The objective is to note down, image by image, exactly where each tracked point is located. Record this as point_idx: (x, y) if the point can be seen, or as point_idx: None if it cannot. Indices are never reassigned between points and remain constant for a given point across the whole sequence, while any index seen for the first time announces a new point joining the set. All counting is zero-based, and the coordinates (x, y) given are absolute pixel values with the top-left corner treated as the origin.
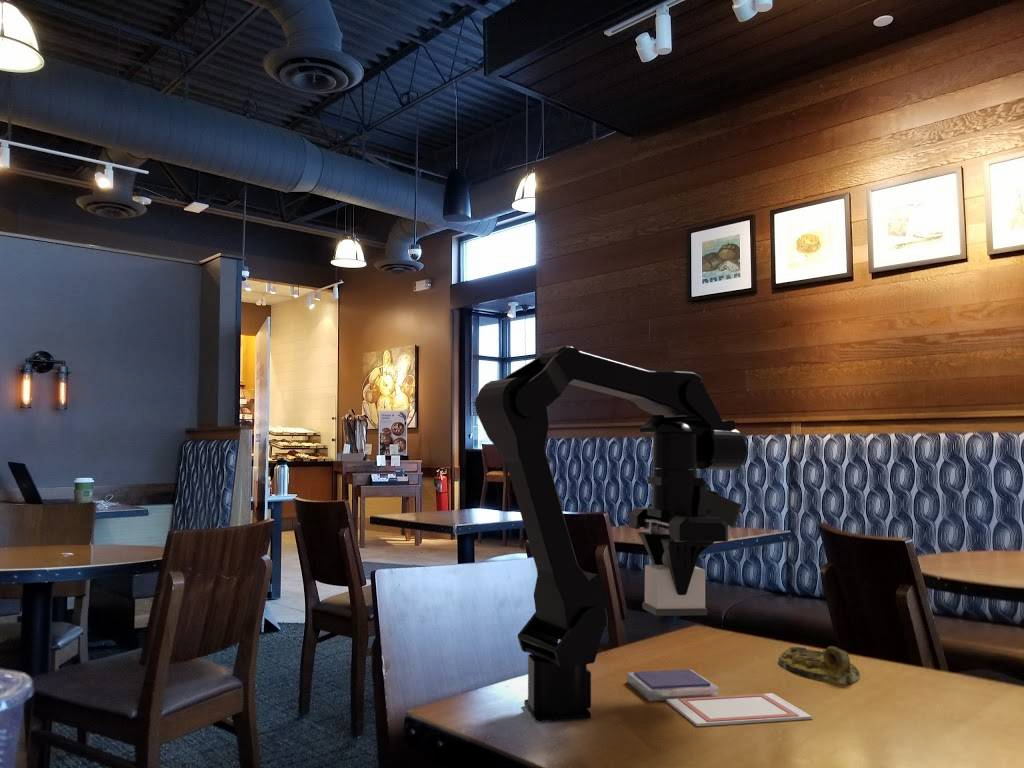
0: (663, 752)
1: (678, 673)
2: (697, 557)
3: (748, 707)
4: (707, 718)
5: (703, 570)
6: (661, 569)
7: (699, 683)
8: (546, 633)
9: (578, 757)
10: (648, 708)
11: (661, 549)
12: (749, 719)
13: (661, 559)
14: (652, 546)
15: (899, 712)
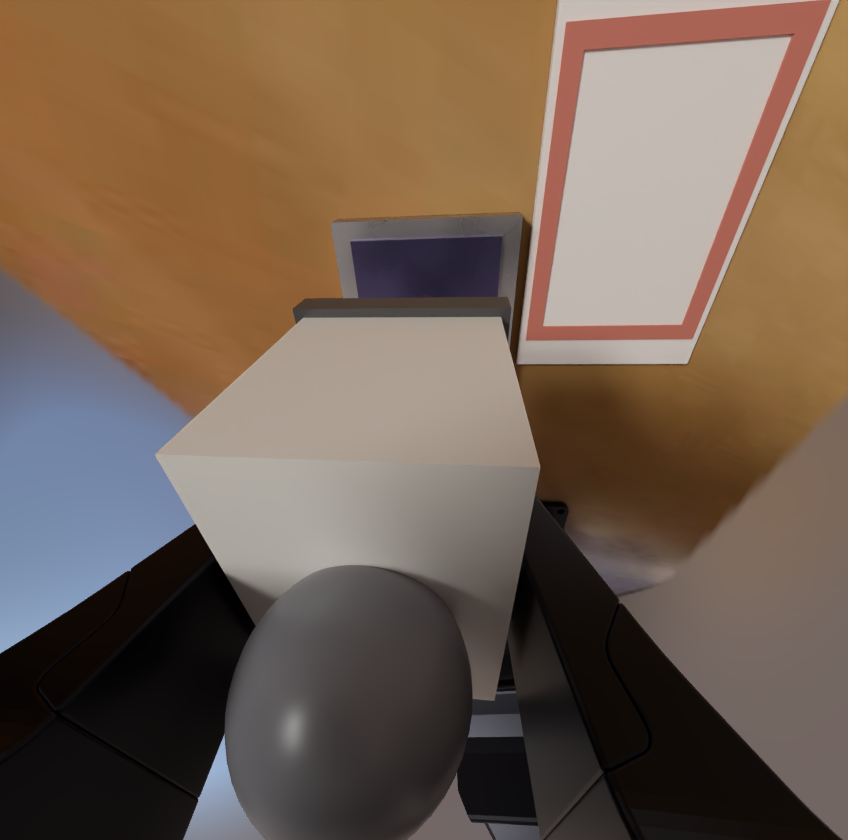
0: (753, 457)
1: (392, 292)
2: (756, 763)
3: (657, 170)
4: (677, 331)
5: (534, 477)
6: (483, 687)
7: (495, 271)
8: None
9: (692, 545)
10: (542, 407)
11: (157, 770)
12: (739, 222)
13: (222, 667)
14: (170, 827)
15: None
